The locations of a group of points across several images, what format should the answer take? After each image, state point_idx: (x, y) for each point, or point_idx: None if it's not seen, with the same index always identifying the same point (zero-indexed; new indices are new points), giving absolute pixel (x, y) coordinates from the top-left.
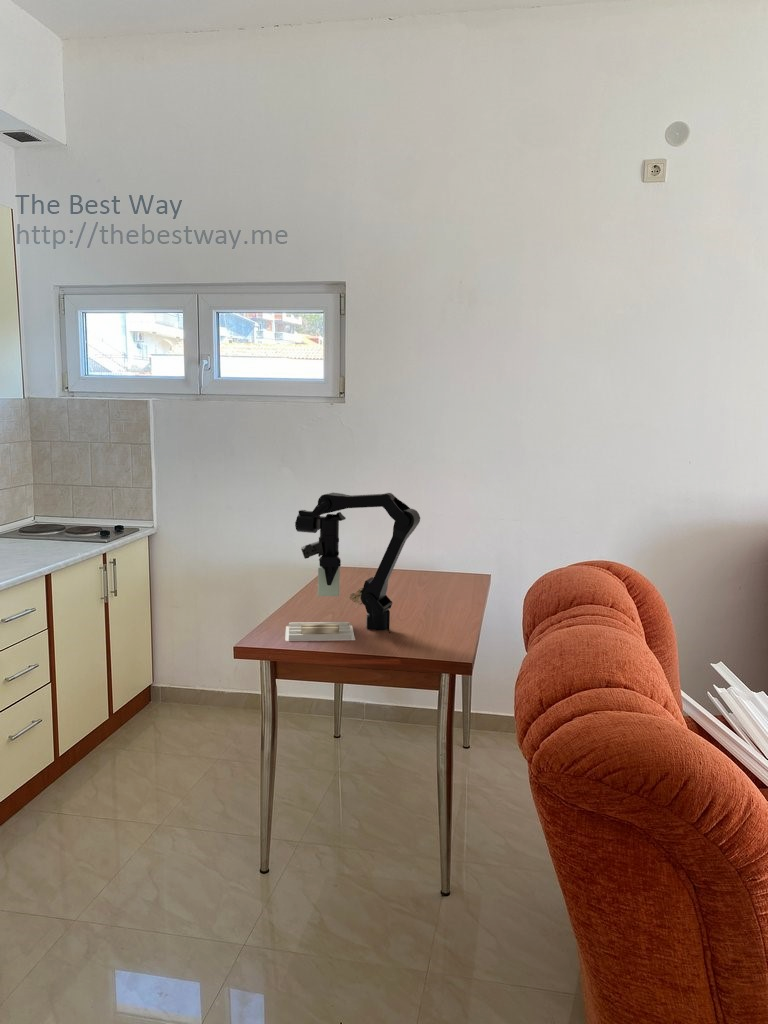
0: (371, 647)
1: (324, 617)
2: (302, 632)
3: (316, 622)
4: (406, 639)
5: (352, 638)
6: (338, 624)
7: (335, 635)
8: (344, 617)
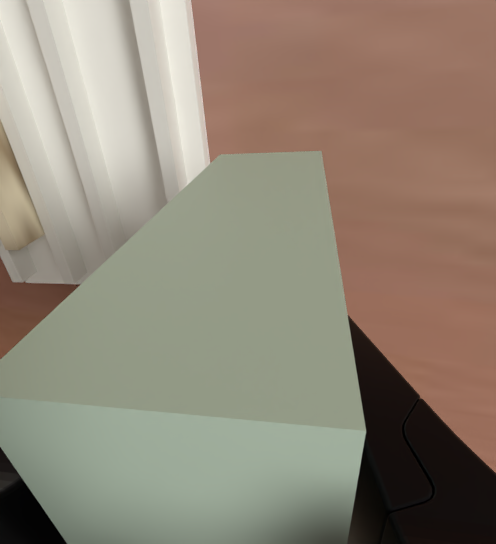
0: (14, 318)
1: (458, 157)
2: None
3: (162, 117)
4: None
5: (41, 274)
6: (13, 247)
7: None
8: (430, 264)
